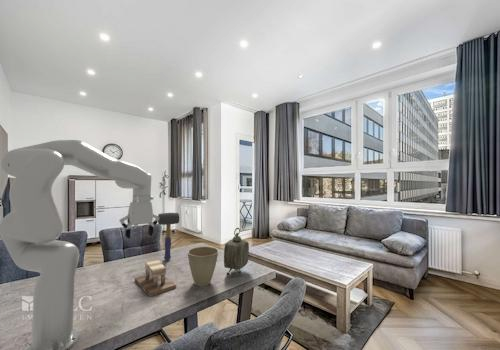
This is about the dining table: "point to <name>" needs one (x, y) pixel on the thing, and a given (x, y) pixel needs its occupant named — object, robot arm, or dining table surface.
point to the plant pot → (202, 264)
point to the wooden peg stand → (154, 284)
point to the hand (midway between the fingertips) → (139, 236)
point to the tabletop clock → (236, 253)
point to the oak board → (155, 268)
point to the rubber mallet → (168, 229)
